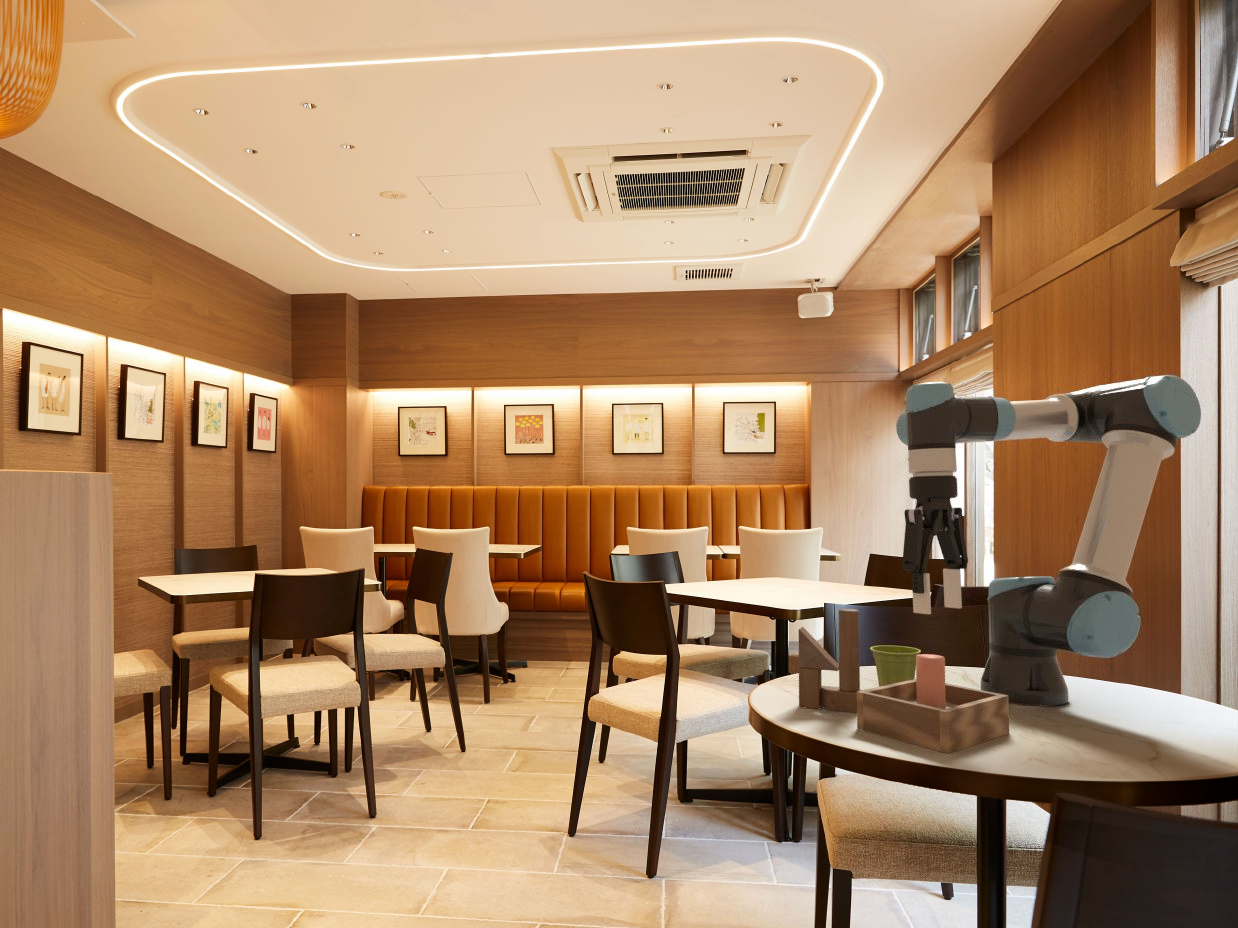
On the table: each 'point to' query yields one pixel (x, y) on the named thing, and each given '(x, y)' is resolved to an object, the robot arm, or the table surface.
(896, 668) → the plant pot
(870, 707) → the box
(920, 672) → the peg
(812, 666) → the brown wooden stacked blocks
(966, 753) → the table surface
